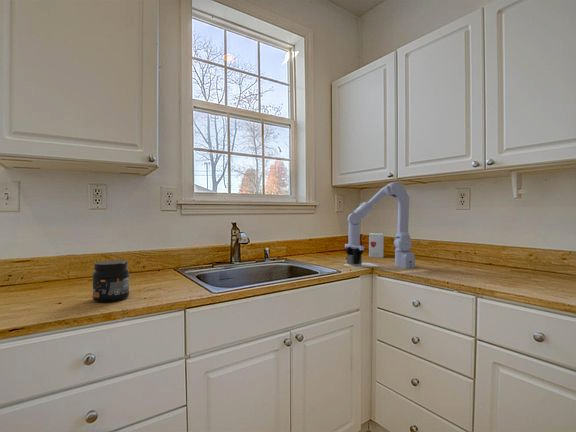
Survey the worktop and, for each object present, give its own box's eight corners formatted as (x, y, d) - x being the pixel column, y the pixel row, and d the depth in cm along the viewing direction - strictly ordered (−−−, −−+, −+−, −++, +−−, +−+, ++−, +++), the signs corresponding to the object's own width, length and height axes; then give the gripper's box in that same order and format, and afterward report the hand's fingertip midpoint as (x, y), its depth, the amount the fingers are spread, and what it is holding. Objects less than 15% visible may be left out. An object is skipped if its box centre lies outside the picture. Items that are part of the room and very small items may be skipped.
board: (380, 268, 159) (380, 265, 159) (354, 270, 153) (354, 267, 153) (367, 264, 170) (367, 262, 170) (342, 266, 164) (342, 264, 164)
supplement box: (368, 257, 199) (368, 233, 199) (369, 255, 207) (369, 232, 207) (383, 257, 196) (383, 234, 196) (383, 256, 205) (383, 233, 205)
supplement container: (91, 297, 103) (91, 261, 103) (126, 293, 109) (126, 259, 109) (93, 305, 95) (93, 266, 94) (131, 300, 101) (131, 262, 101)
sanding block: (361, 265, 159) (361, 255, 159) (351, 265, 157) (351, 256, 157) (356, 264, 163) (356, 254, 163) (347, 264, 161) (347, 255, 161)
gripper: (339, 235, 165) (339, 261, 165) (355, 237, 151) (355, 265, 152) (351, 235, 168) (351, 260, 168) (367, 237, 154) (367, 264, 154)
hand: (354, 263), depth 160 cm, fingers closed on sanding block, 4 cm apart
